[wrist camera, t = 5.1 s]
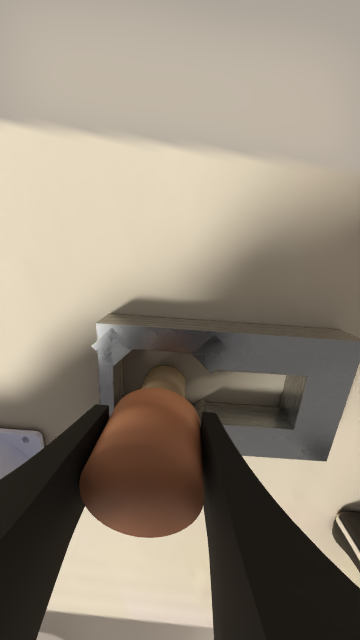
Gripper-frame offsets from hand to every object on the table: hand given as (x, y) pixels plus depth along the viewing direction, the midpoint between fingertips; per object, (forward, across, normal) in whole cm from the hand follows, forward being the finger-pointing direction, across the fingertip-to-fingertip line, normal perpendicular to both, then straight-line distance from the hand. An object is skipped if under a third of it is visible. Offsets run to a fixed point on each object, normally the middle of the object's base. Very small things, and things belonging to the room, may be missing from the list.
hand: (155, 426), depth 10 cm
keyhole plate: (+4, -4, 0) cm, 6 cm away
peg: (+4, 0, 0) cm, 4 cm away
